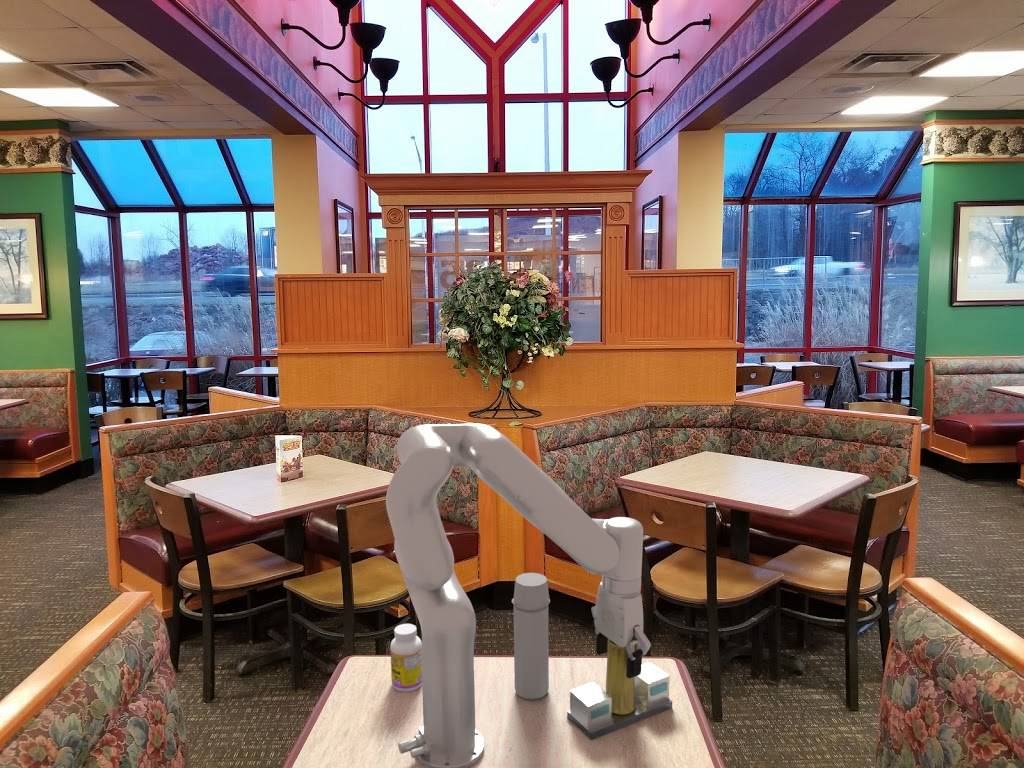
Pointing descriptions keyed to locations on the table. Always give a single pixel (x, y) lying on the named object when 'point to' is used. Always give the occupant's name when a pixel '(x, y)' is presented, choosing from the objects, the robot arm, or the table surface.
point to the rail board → (623, 718)
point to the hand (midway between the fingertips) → (618, 663)
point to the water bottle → (531, 635)
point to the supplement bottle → (406, 658)
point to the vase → (619, 680)
